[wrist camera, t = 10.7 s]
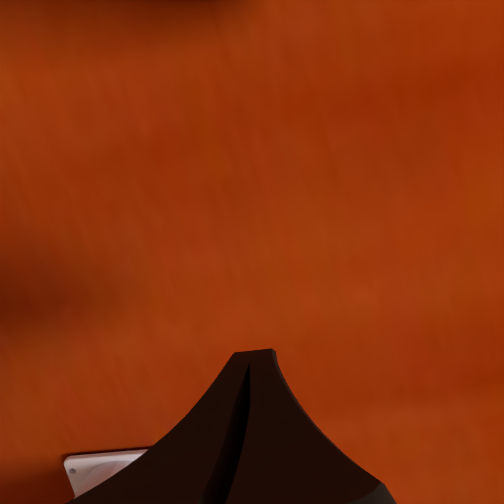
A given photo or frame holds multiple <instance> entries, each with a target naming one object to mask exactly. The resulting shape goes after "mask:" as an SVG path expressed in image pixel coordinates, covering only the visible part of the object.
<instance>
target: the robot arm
mask: <svg viewBox="0 0 504 504" xmlns="http://www.w3.org/2000/svg"><path fill="white" fill-rule="evenodd" d="M64 467H65V469H66V472H67V475H68V477H69V480H70V483H71V485H72V488H73V491H74V493H75V497H74V499H73V500H71V501H69V502H68V503H66V504H396V502H395V500H394V499H393V497H392V495H391V494H390V492H389V491H388V489H387V488H386V486H385V485H384V484H383V483H382V482H381V481H379V480H378V479H376V478H375V477H374V476H372V475H371V474H369V473H368V472H366V471H365V470H364V469H362V468H361V467H360V466H358V465H357V464H356V463H355V462H353V461H352V460H351V459H350V458H349V457H348V456H346V455H345V454H344V453H343V452H342V451H341V450H340V449H339V448H338V447H337V446H336V445H335V444H334V443H333V442H331V441H330V440H329V439H328V438H327V437H326V436H325V435H324V434H323V433H322V431H321V430H320V429H319V428H318V427H317V426H316V425H315V424H314V422H313V421H312V420H311V419H310V417H309V416H308V415H307V414H306V412H305V411H304V410H303V408H302V407H301V405H300V404H299V403H298V401H297V399H296V398H295V396H294V395H293V393H292V392H291V390H290V388H289V386H288V384H287V383H286V381H285V379H284V377H283V375H282V373H281V370H280V368H279V365H278V362H277V356H276V351H274V350H273V349H263V350H253V351H244V352H235V353H234V354H233V355H232V356H231V357H230V359H229V360H228V362H227V363H226V365H225V366H224V368H223V369H222V371H221V372H220V373H219V375H218V376H217V378H216V379H215V380H214V382H213V383H212V384H211V386H210V387H209V388H208V390H207V391H206V392H205V394H204V395H203V396H202V397H201V399H200V400H199V401H198V402H197V403H196V405H195V406H194V407H193V408H192V409H191V410H190V412H189V413H188V414H187V415H186V416H185V417H184V418H183V419H182V420H181V421H180V422H179V423H178V424H177V425H176V426H175V427H174V428H173V429H172V430H171V431H170V432H169V433H167V434H166V435H165V436H164V437H163V438H162V439H160V440H159V441H158V442H157V443H156V444H154V445H153V446H152V447H151V448H150V449H145V450H133V451H122V452H110V453H98V454H86V455H74V456H68V457H67V458H66V460H65V461H64ZM73 468H74V469H73Z"/></svg>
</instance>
